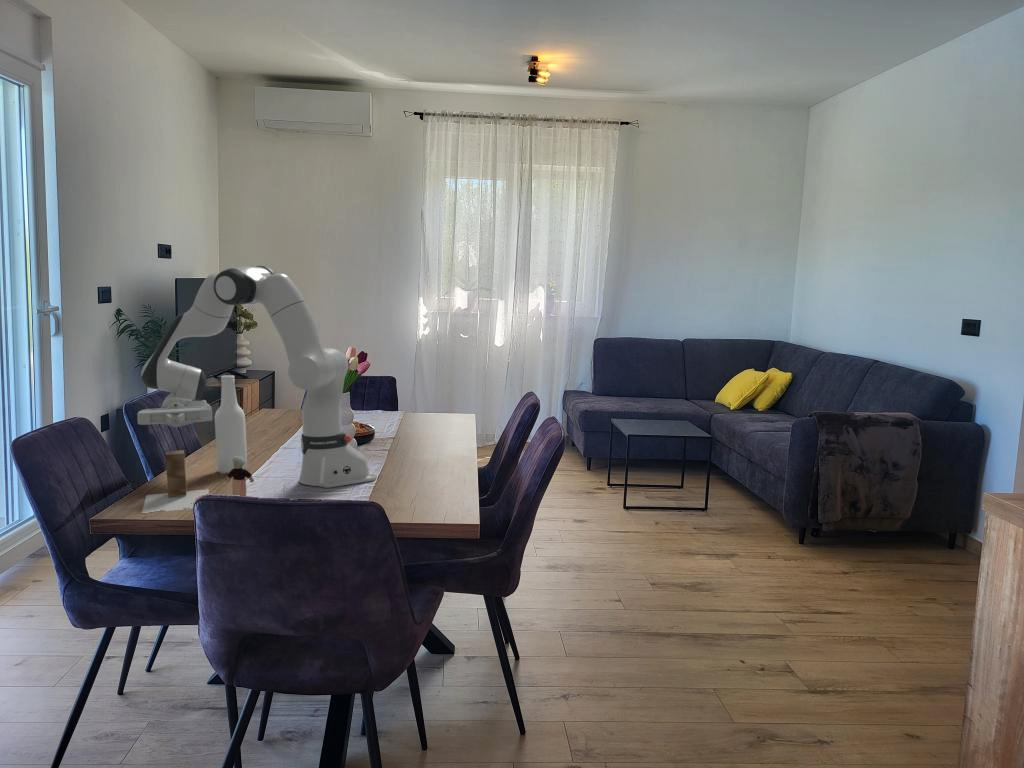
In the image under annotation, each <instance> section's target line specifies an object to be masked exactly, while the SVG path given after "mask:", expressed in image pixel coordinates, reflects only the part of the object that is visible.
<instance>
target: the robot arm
mask: <svg viewBox="0 0 1024 768" xmlns="http://www.w3.org/2000/svg"><path fill="white" fill-rule="evenodd" d="M198 289H199V290H198V291H197V293H196V295H195V298H194V301H193V304H192V305H191V307H190V308H189V309H188V310H187V311H185V312H184V313H178V314H177V316H175V318H174V319H173V320H172V322H171V323H170V325H169V326H168V328H167V329H166V331H165V333H164V334H163V336H162V338H161V339H160V341H159V342H158V345H157V346H156V347H155V350H154V352H153V353H152V354H151V356H150V357H149V358H148V359H147V361H146V362H145V363H144V365H143V367H142V369H141V372H140V379H141V380H142V381H141V382H143V385H145V386H146V388H147V389H151V390H159V391H164V392H166V393H170V394H169V395H167V396H166V397H165V398H164V400H163V402H162V405H161V407H160V408H159V407H157V408H155V407H154V408H145V409H141V410H139V411H138V412H137V414H136V415H137V416H136V417H137V424H138V425H141V426H145V425H146V426H147V425H160V424H161V425H162V424H163V425H164V424H166V425H167V426H169V427H173V428H180V427H183V426H188V425H190V424H195V423H202V422H209V421H213V408H212V406H211V405H210V403H207V400H205V399H202V398H203V395H204V394H205V393H204V391H205V389H206V385H207V384H206V382H207V377H206V374H205V372H204V371H203V370H202V369H201V368H198V367H195V366H192V365H189V364H184V363H180V362H178V361H174V360H171V359H169V358H168V357H169V355H170V353H171V351H172V350H173V349H174V346H175V345H176V344H177V342H178V341H179V340H181V339H185V338H194V337H195V338H196V337H197V338H207V337H213V336H216V335H218V334H220V333H222V332H223V331H224V330H225V329H226V327H227V325H228V323H229V322H230V319H231V317H232V313H233V310H234V308H235V306H241V305H242V306H243V305H255V304H259V303H260V304H261V305H263V307H264V308H265V310H266V312H267V314H268V316H269V317H270V319H271V321H272V324H273V325H274V326H275V329H276V331H277V333H278V335H279V337H280V338H281V341H282V343H283V346H284V350H285V353H286V356H287V361H288V364H289V365H288V372H287V373H288V378H289V380H290V383H291V384H292V385H294V387H296V388H297V389H300V390H304V391H305V390H306V391H307V392H306V396H305V399H304V403H303V404H302V408H301V417H302V418H301V419H302V423H301V424H302V434H301V438H300V442H301V443H300V447H301V448H300V449H301V454H302V460H301V461H302V462H301V470H300V475H299V478H298V482H299V483H300V484H303V485H306V486H314V487H320V488H327V489H328V488H335V487H341V486H349V485H353V484H354V485H355V484H361V483H367V482H372V481H373V482H374V481H375V480H376V479H377V474H376V473H377V472H375V471H374V470H373V469H372V468H369V463H368V460H367V458H366V457H365V455H364V454H363V453H362V452H360V451H359V450H357V449H356V448H354V447H353V446H351V445H350V444H349V443H351V442H352V441H353V440H352V436H350V435H349V434H347V433H346V432H343V431H342V421H341V420H342V419H341V417H342V413H341V412H342V409H341V407H342V399H343V398H342V396H343V392H344V384H345V381H346V380H345V379H346V376H347V373H348V371H349V366H350V365H349V360H348V357H347V356H346V355H345V354H344V352H343V351H341V350H338V349H336V348H331V347H325V348H323V346H322V343H321V340H320V336H319V332H318V331H319V324H318V323H317V320H316V318H315V316H314V315H313V313H312V311H311V310H310V307H309V305H308V303H307V302H306V300H305V297H304V296H303V294H302V293H301V291H300V290H299V288H298V287H297V285H296V284H295V283H294V281H293V280H292V279H291V278H290V277H289V276H288V275H287V274H285V273H280V272H279V273H278V272H277V273H276V272H275V270H273V269H272V268H270V267H267V266H262V265H256V266H252V265H251V266H248V265H245V266H244V265H243V266H238V267H234V268H231V267H230V268H227V269H224V270H222V271H221V272H219V273H211V274H209V275H208V276H206V277H205V279H204V280H203V282H202V284H201V285H200V287H199V288H198Z"/></svg>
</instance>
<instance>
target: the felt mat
mask: <svg viewBox="0 0 1024 768" xmlns="http://www.w3.org/2000/svg"><path fill="white" fill-rule="evenodd" d="M209 492H210V489H208V488H207V489H196V490H188V491H187V494H186V496H184V497H173V498H168V492H163V493H153V494H147V495H145V499H144V504H143V507H142V509H141V510H142V511H141V514H142V513H147V514H150V513H149V512H154V511H160V510H165V511H166V512H174V511H175V510H176V511H184V509H183V508H187V509H186V510H193V509H192V508H193V503H194V501H195V499H196V498H198V497H199V496H202V495H206V494H209V495H210V493H209ZM191 503H192V504H191ZM188 507H189V508H190V509H188Z"/></svg>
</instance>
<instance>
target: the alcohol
mask: <svg viewBox="0 0 1024 768" xmlns="http://www.w3.org/2000/svg"><path fill="white" fill-rule="evenodd" d="M220 378H221V380H220V382H221V388H220V390H221V393H220V394H221V395H220V397H221V398H220V406H219V407H218V408H217V409H216V411H215V414H214V429H215V448H216V465H217V468H216V469H217V472H218V473H219V474H222V475H223V474H224V475H225V474H229V472H230V471H231V470H232V469H234V466H233V461H232V460H233V457H234V456H241V457H242V458H243V459H244V460H245V462H246V463H245V464H244V465H243V467H242V468H243V469H245V470H248V469H247V468H248V455H247V454H248V451H247V433H246V431H247V429H246V414H245V412H244V409H242V407H241V406H240V405H239V403H238V400H237V399H238V398H237V390H236V385H235V384H236V383H235V381H236V379H235V378H236V377H235V375H232V374H227V375H226V374H224V375H221V376H220Z"/></svg>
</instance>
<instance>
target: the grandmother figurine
mask: <svg viewBox="0 0 1024 768" xmlns="http://www.w3.org/2000/svg"><path fill="white" fill-rule="evenodd" d="M232 461H233V466H234V469H232V470H231V471H230V472H229V473H227V477H226V480H225V481H226V483H230V482H231V479H232V490H231V491H232V495H240V496H246V497H247V482H246V478H247V479H248V480H249V482H250V483H254V481H255V480H254V478H253V476H252V475H253V474H252V473H251V472H250V471H248V469H246V470H245V469H243V468H242V467H243V465H244V464H245V463H246V462H245V460H244V459H243V458H242V457H241V456H234V457H233V460H232Z"/></svg>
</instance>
